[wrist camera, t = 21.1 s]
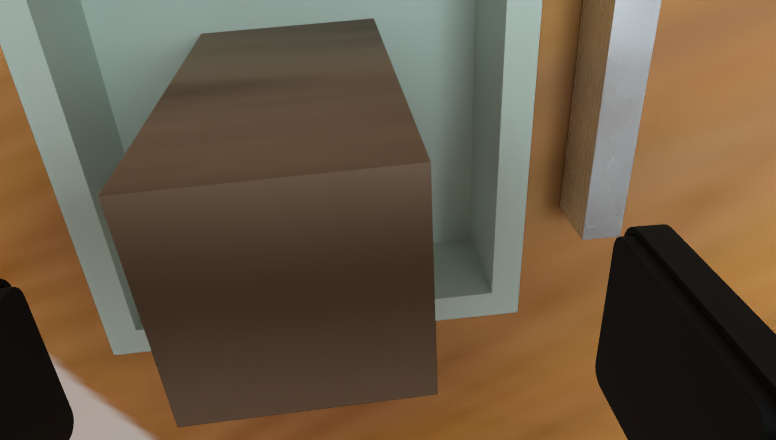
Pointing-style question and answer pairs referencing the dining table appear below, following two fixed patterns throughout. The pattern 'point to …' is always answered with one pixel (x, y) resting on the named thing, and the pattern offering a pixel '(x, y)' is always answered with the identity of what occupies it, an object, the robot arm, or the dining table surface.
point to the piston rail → (606, 112)
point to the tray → (275, 9)
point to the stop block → (280, 227)
